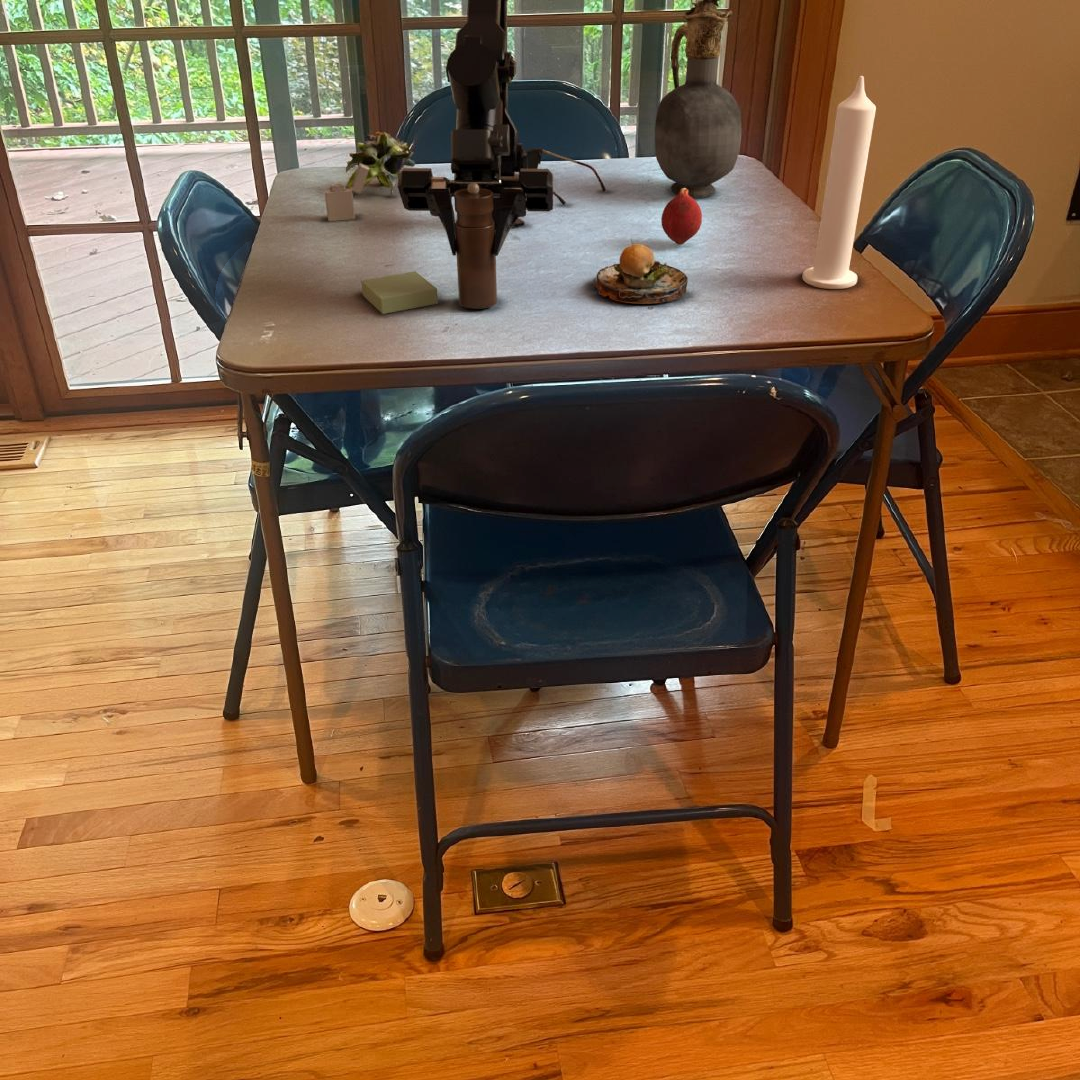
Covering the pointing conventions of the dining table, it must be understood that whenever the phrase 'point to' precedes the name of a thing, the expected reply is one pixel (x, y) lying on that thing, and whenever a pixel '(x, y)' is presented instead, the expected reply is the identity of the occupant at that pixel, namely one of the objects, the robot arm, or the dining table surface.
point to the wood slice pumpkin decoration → (641, 278)
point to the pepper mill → (475, 247)
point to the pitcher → (698, 109)
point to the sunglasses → (536, 153)
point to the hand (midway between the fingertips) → (474, 254)
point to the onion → (681, 218)
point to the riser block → (399, 292)
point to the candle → (843, 192)
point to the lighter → (344, 197)
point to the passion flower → (381, 159)
